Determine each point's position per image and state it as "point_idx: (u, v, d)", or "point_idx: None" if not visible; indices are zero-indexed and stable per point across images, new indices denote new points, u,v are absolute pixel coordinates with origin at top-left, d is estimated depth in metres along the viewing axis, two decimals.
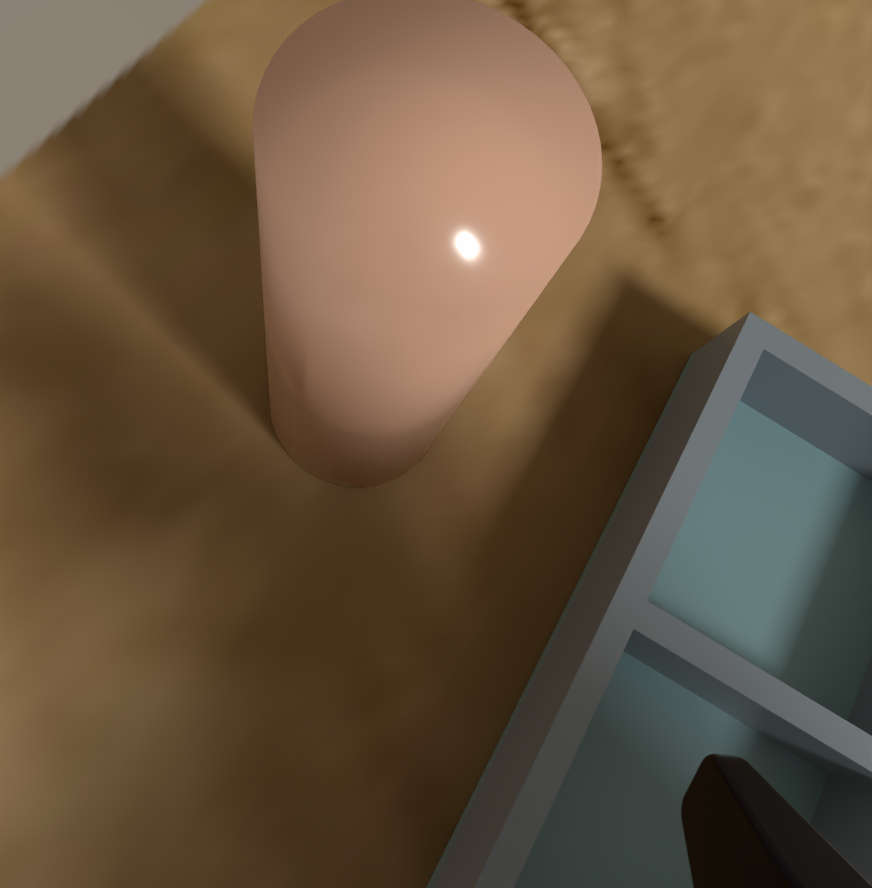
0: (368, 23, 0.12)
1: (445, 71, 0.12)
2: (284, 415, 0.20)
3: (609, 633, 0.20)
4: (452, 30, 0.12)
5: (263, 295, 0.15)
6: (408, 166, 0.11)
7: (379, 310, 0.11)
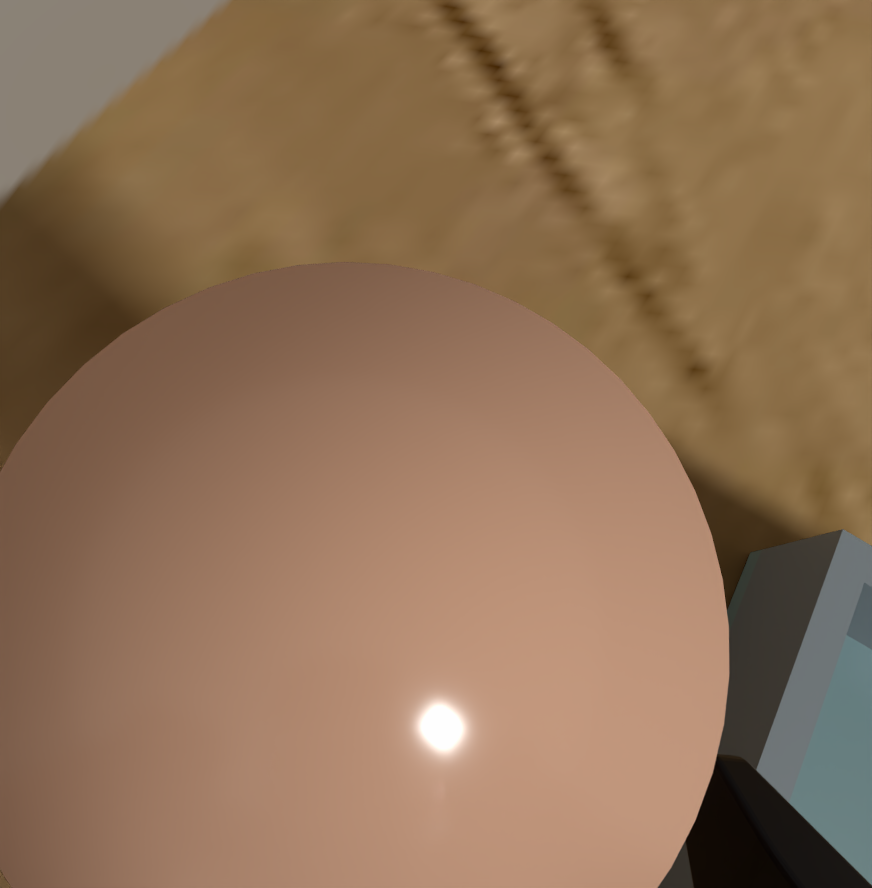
0: (232, 349, 0.06)
1: (397, 445, 0.06)
2: None
3: None
4: (411, 348, 0.06)
5: None
6: (315, 692, 0.05)
7: None
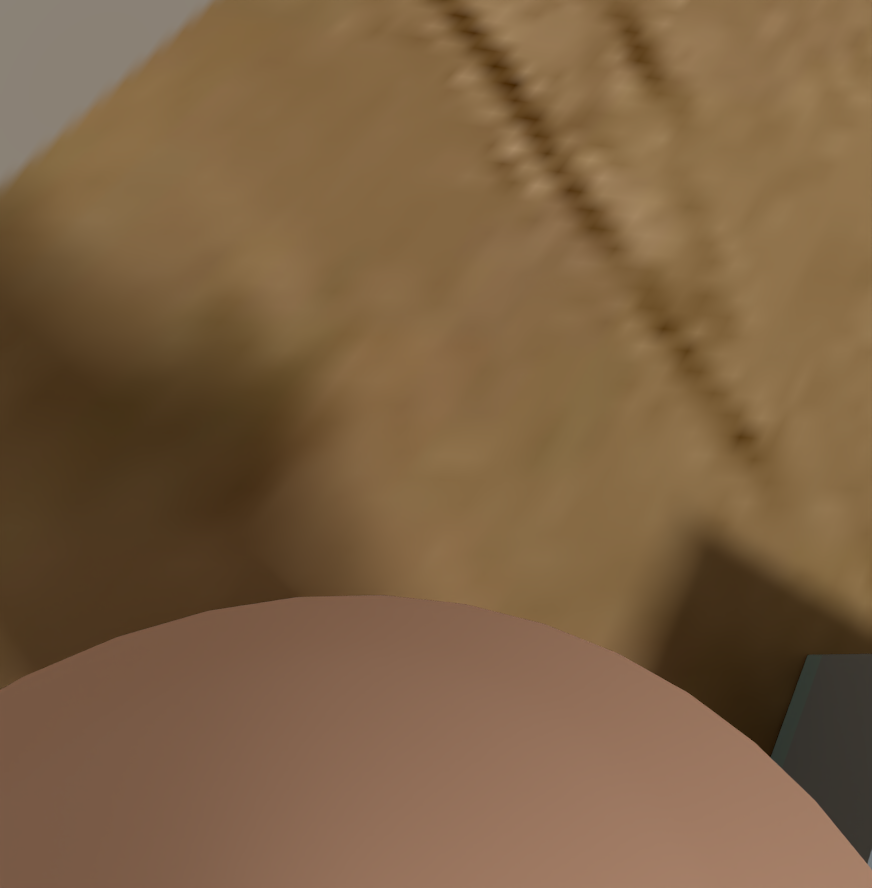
0: (68, 811, 0.03)
1: None
2: None
3: None
4: (426, 774, 0.03)
5: None
6: None
7: None
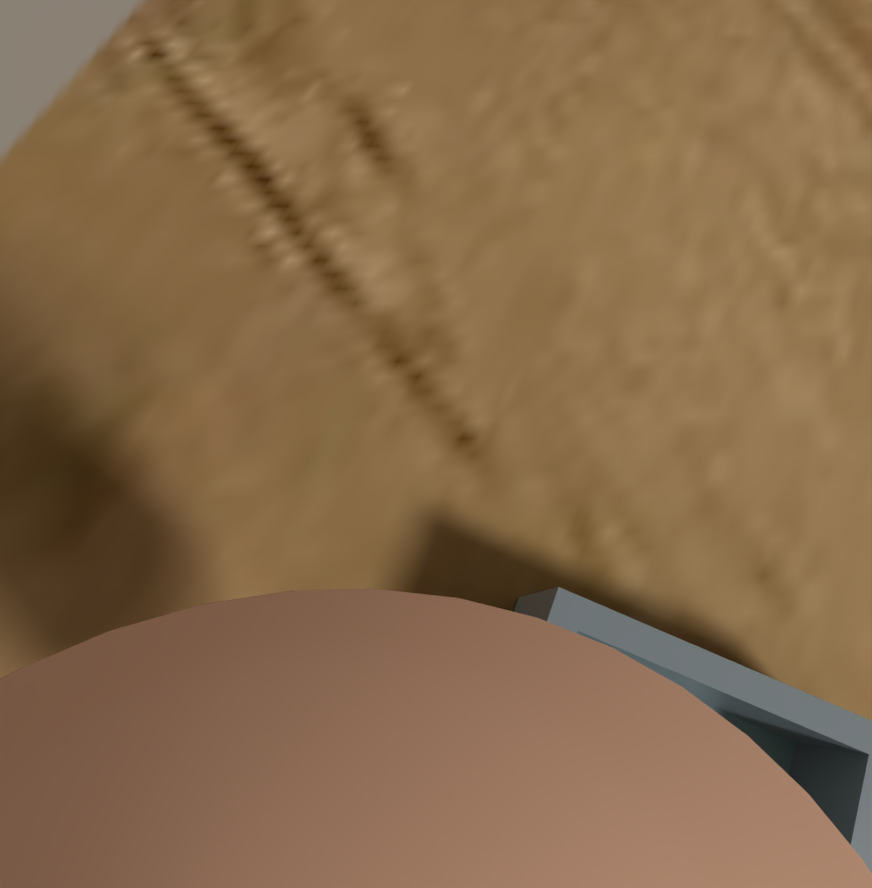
0: (61, 803, 0.03)
1: None
2: None
3: None
4: (420, 767, 0.03)
5: None
6: None
7: None
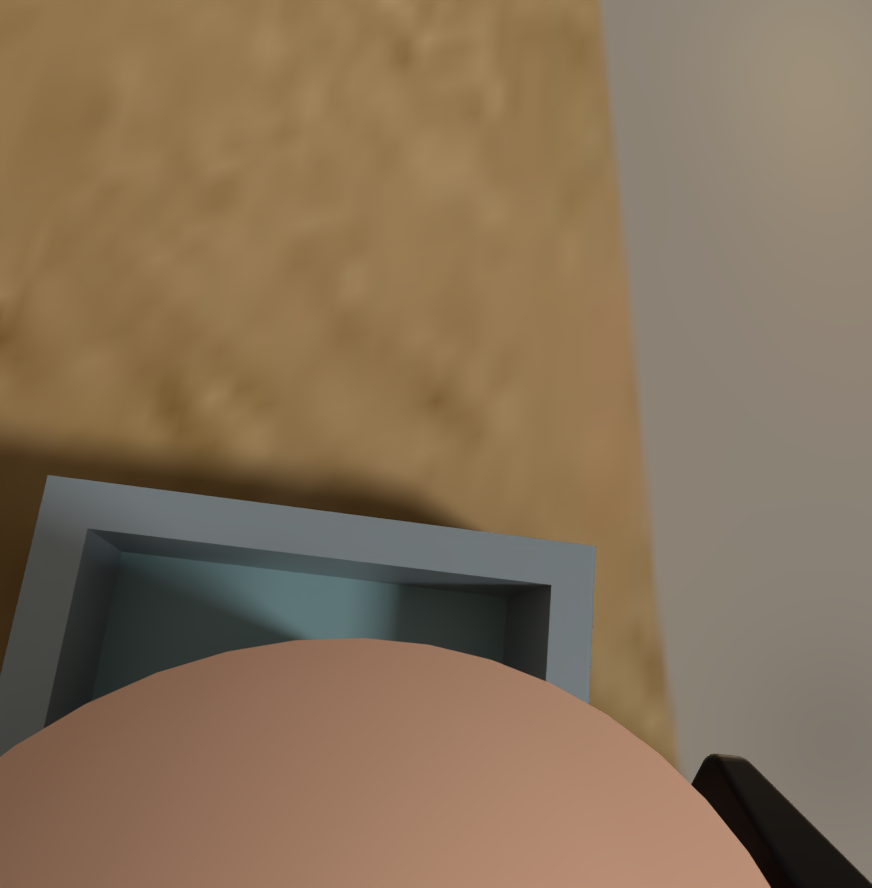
0: (120, 807, 0.04)
1: None
2: None
3: None
4: (396, 778, 0.04)
5: None
6: None
7: None
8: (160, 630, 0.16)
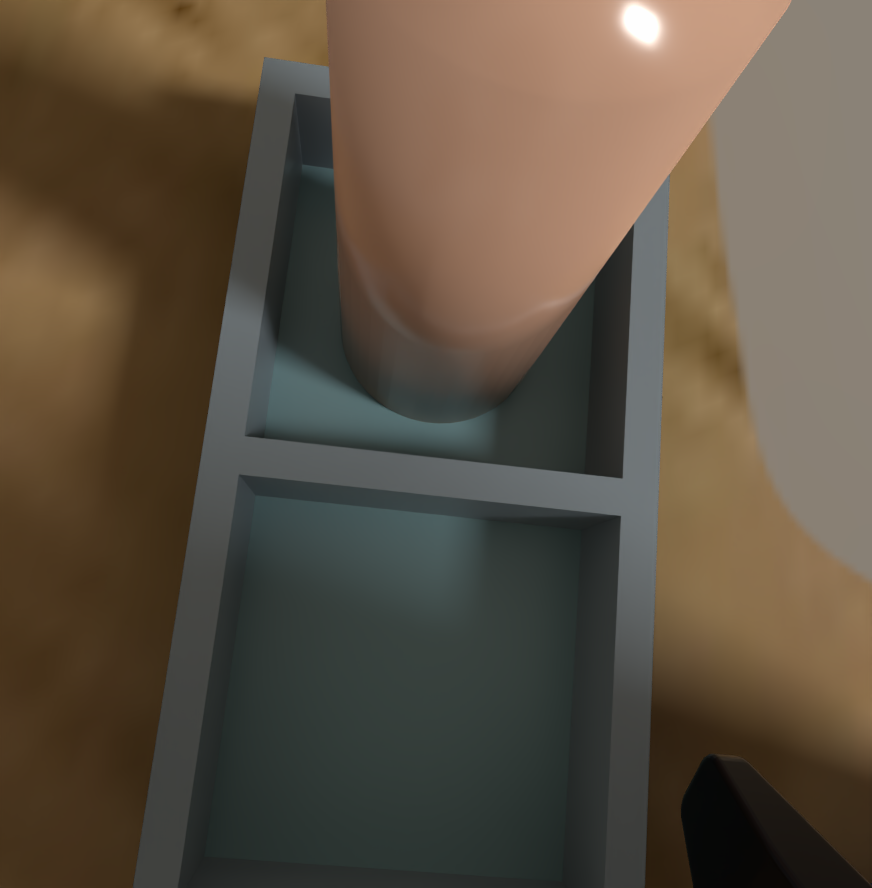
0: None
1: None
2: (361, 335, 0.17)
3: (211, 491, 0.16)
4: None
5: (335, 168, 0.12)
6: None
7: (504, 128, 0.08)
8: (335, 219, 0.21)
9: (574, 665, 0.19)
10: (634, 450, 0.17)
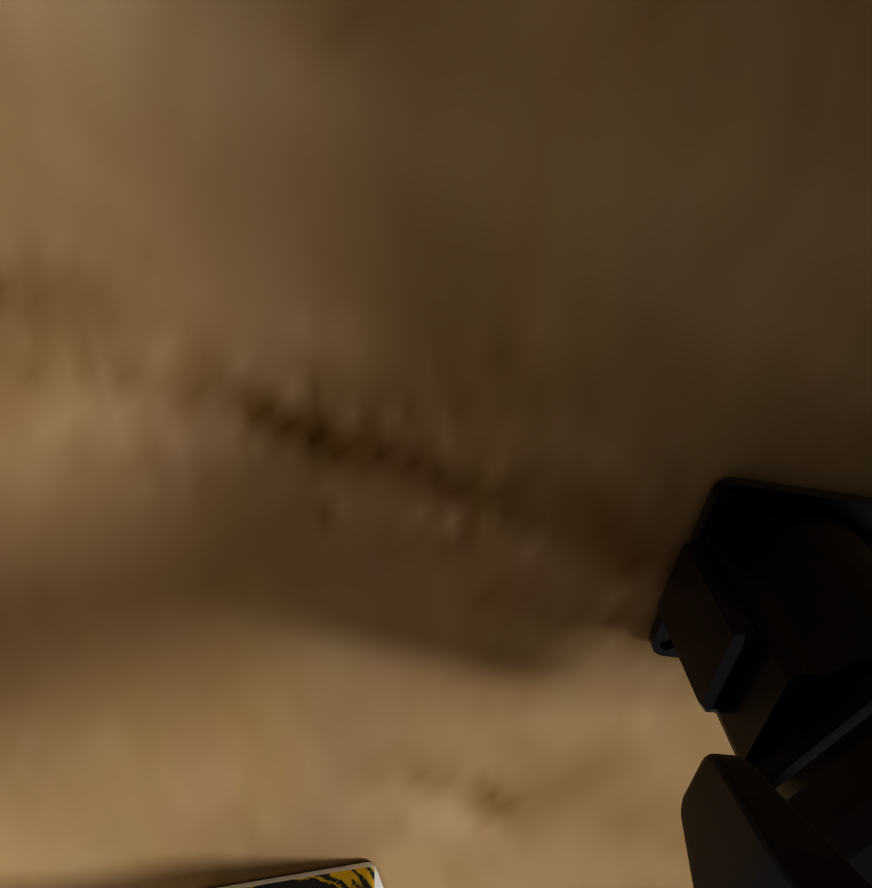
0: None
1: None
2: None
3: None
4: None
5: None
6: None
7: None
8: None
9: None
10: None
